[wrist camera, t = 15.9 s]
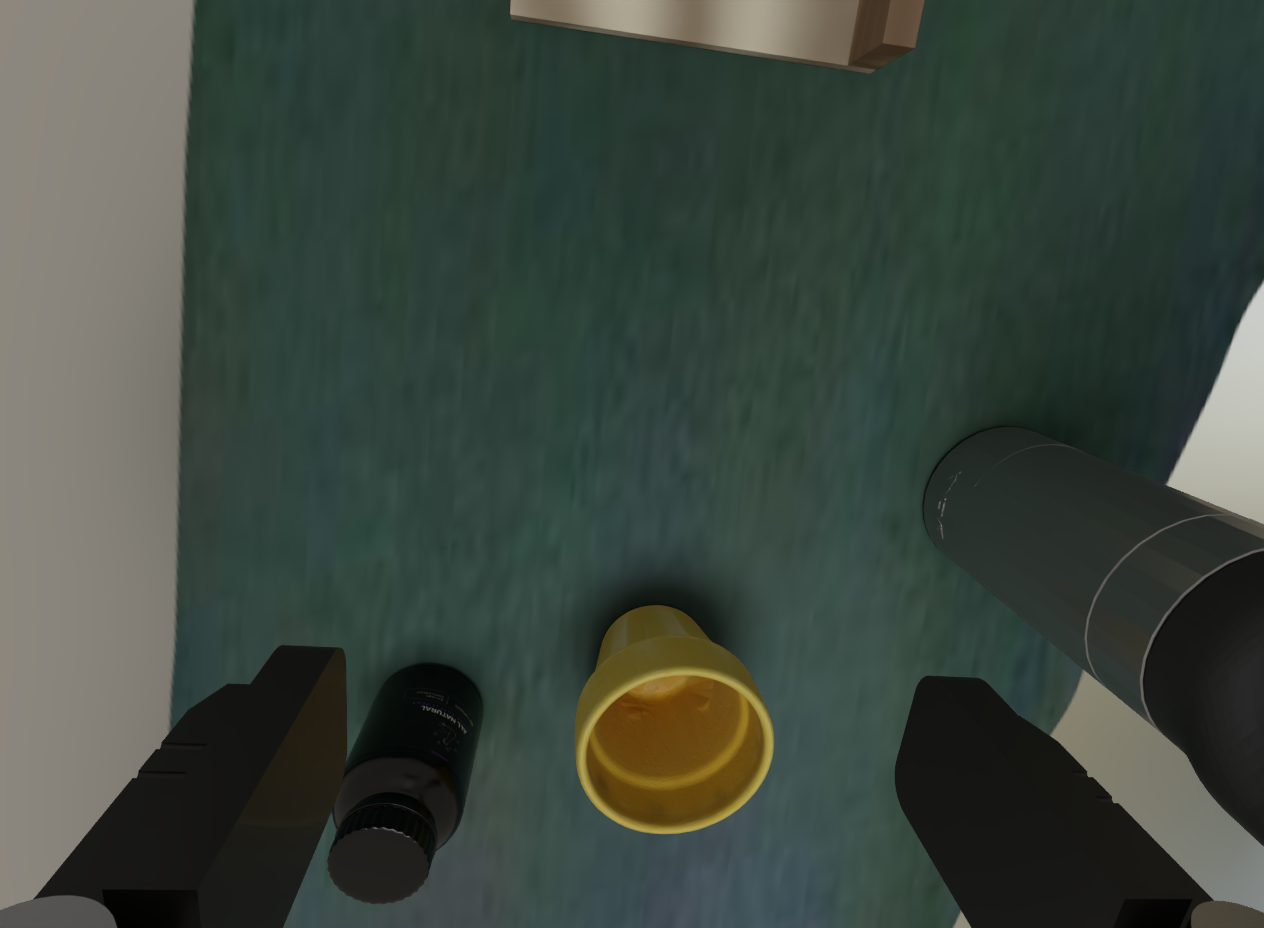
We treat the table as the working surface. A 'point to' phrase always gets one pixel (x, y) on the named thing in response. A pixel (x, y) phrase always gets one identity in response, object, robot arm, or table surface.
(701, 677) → the plant pot
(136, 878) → the robot arm
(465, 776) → the supplement bottle
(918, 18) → the wooden tray
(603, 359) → the table surface
